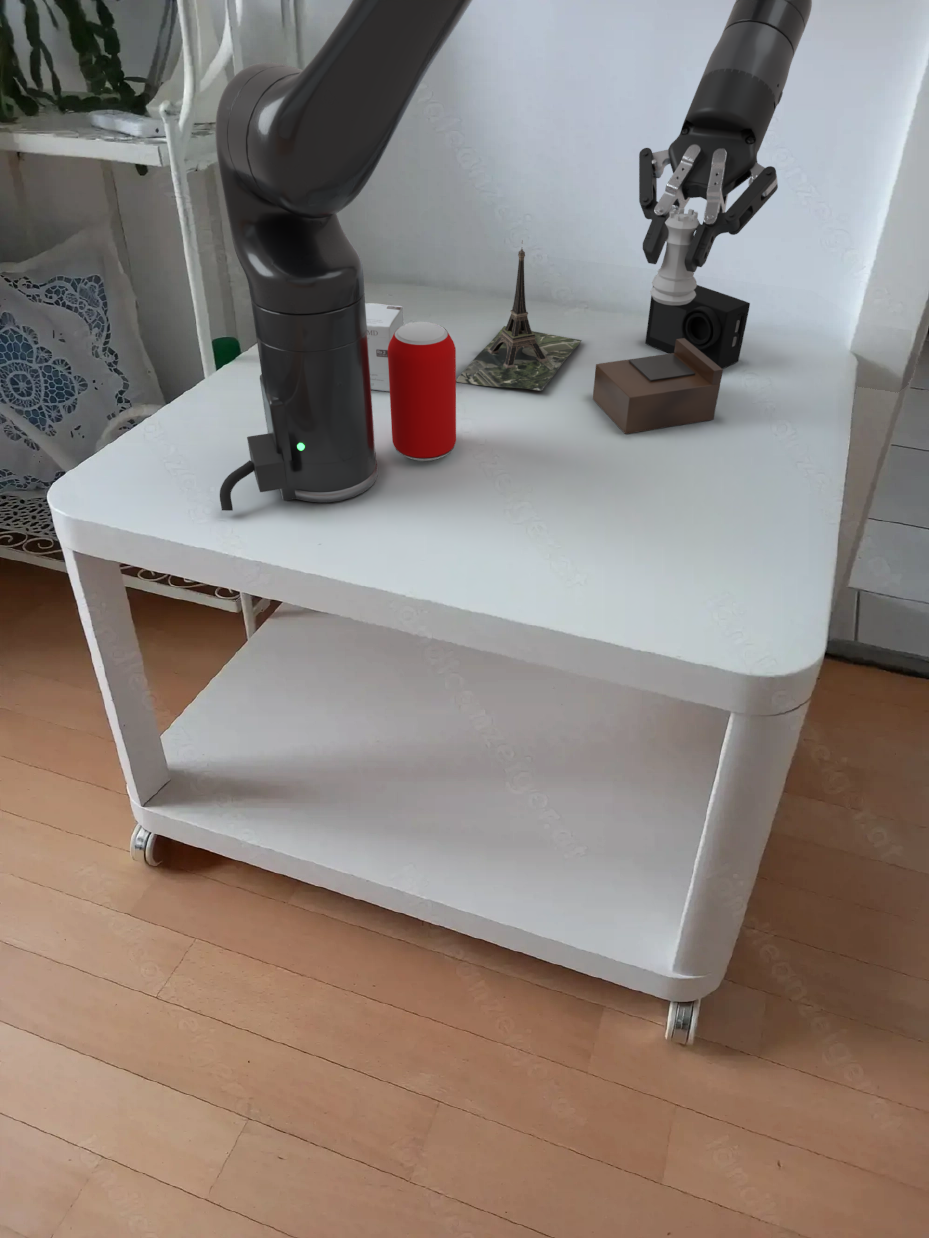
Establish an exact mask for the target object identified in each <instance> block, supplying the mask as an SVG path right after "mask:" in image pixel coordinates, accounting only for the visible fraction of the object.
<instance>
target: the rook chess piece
mask: <svg viewBox="0 0 929 1238" xmlns="http://www.w3.org/2000/svg"><path fill="white" fill-rule="evenodd" d="M676 212H677V210H676V209H673V210H671V212H670V217H669V218H668V219H667V220H666V221H665V224H666V226H667V228H668V230H669V233H668V236H667V237H666V238H665V240H666V242H665V243H666V245H665V246H666V247H665V252H664V256H663V259H662V263H661V266H660V268H659V269H658V270H657V273H656V274H655V275H654V276H653V278H652V280H651V284H652V288H651V289H650V290H649V294H650V296H651V295H652V297H653V299H654V300H655V301H657V302H659V303H662V304H666V305H684V304H687V303H689V302H691V301H692V300H693V299H694V298H695V296H696V293H695V291H694V289H695V288H696V286H697V285H698V284H697V280H696V278H695V276H694V274H695V272H690V271H687V270H686V267H685V263H684V261H685V257H686V254H687V252H688V249H689V247H690V244H691V242H692V240H693V237H694V235H695V232H696V230H697V227H698V225H699V224H701V223H700V220H699V219H698V216H699V212H698V211H695V209H691V208H689V209H688V210H687V213H685V207H684V208H679V213H678V214H676Z"/></svg>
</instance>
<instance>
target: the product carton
mask: <svg viewBox="0 0 929 1238" xmlns="http://www.w3.org/2000/svg"><path fill="white" fill-rule="evenodd" d="M365 308H366V323H367V338H368V353H369V367H370V382H371V390H373V391H381V392H382V391H383V392H390V387H389V368H388V345H389V342H390V340H391V338H392V337H393V335H394V333H395V331H396V330H397V329H398V328H400V327H401V326H403V325H404V306H402V305H392V304H391V305H390V304H383V303H376V302H369V303H367V302H365Z"/></svg>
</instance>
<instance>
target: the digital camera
mask: <svg viewBox="0 0 929 1238" xmlns="http://www.w3.org/2000/svg"><path fill="white" fill-rule="evenodd" d="M694 291H695V293H696V296H695V298H694V299H693V300H692V301H691V302H689V303H687V304H684V305H666V304H662V303H659V302H657V301H655V300H654V299H653V297H652V295H651V294H650V301H649V311H648V318H647V324H646V325H647V327H646V332H645V333H646V334H645V342H644V344H646V345H648V346H650V347H652V348H655V349H657V350H660V351H662V352H665V353H666V354H670V353H674V350H675V343H676V339H682V338H685V339H686V340H687V341H689V342H690V343H691V344H692V345H693V346H695V347H696V348H697V349H698V350H700V351H701V352H702V353H703V354H705V355H706V356H707V357H708V358H709V359H711V360H712V361H713V362H714V363H716V364H717V365H718V366H719V367H720V368H722V369H723V370H724V369H725V368H727V367H730V366H731V365H734V364H736V363H738V362H739V361H740V355H741V351H742V347H743V346H742V345H743V341H744V335H745V331H746V326H747V321H748V316H749V311H750V307H751V306H750V305H751V302H748V301H745V300H743V299H740V298H737V297H734V296H731V295H729V294H725V293H722V292H719V291H717V290H714V289H710V288H707V287H705V286H701V285H699V284H697V286H696V288H695V289H694Z"/></svg>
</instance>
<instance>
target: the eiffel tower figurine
mask: <svg viewBox="0 0 929 1238" xmlns="http://www.w3.org/2000/svg"><path fill="white" fill-rule="evenodd" d="M523 242H524V241H523V239H521V243H523ZM517 256H518V265H517V277H516V284H515V292H514V298H513V304H512V309H511V310H509V312H510V316H509V318H508V320H507V323H506V325H503V327H502V328H501V329H500V330H499V332H497V334H496V335H494V337H493V338H492V339H491V341H490V342H489V343H488V344H486V346H485V347H484V348H482V350H481V351H480V352H479V353H478V354H477V355H476V356H475V357H474V359H472V361H471V362H470V363H469V364H468V365H467V366H466V367H465V369H464V370H463V371H462V373H461V374H460V375H459V376H458V377H456V383H462V384H470V385H476V386H477V385H478V386H486V387H494V388H514V389H515V388H516V389H525V390H532V391H543V390H544V389H545V387H546V386H547V385H548V383H549V382H550V381H551V380H552V379H553V377H555V375H556V373H557V372H558V370H560V368H561V366H562V365H563V364H564V362H566V361H567V359H568V358H569V356H570V355H571V354H572V353H573V351H575V349H576V348H577V347H578V346H579V345H580V344H581V343H582V341H583V339H578V338H573V337H566V336H560V335H555V334H549V333H545V332H539V331H534V330H532V329H531V325H530V322H529V317H528V314H529V312H528V311H527V306H526V305H527V304H526V292H525V291H526V290H525V289H526V288H525V258H526V252H525V251H524V249H523V248H521V249H520V250H519V251H518V254H517Z"/></svg>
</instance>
